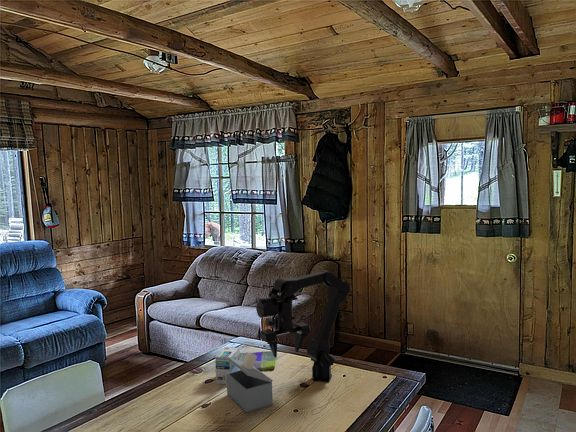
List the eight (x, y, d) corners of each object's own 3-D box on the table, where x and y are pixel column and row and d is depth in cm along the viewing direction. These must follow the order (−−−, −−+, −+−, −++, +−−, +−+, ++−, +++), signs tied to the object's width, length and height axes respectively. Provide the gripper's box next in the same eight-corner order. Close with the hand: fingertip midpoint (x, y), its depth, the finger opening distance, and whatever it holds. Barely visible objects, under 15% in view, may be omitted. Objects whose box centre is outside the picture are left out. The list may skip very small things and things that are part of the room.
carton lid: (250, 366, 170) (256, 351, 171) (271, 382, 155) (278, 366, 156) (228, 359, 165) (234, 344, 166) (247, 375, 151) (254, 358, 152)
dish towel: (274, 372, 185) (274, 365, 185) (215, 373, 186) (215, 366, 186) (277, 356, 202) (277, 349, 202) (222, 356, 203) (222, 350, 203)
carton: (252, 388, 170) (251, 367, 169) (272, 405, 156) (271, 382, 156) (227, 395, 165) (226, 373, 164) (246, 413, 151) (245, 390, 151)
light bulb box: (232, 385, 173) (231, 357, 172) (215, 384, 175) (214, 356, 174) (240, 373, 184) (239, 347, 183) (224, 372, 185) (223, 346, 184)
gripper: (294, 304, 178) (295, 343, 179) (252, 312, 169) (253, 353, 170) (310, 310, 169) (311, 351, 170) (266, 319, 159) (267, 363, 160)
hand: (286, 354), depth 168 cm, fingers open, 9 cm apart
